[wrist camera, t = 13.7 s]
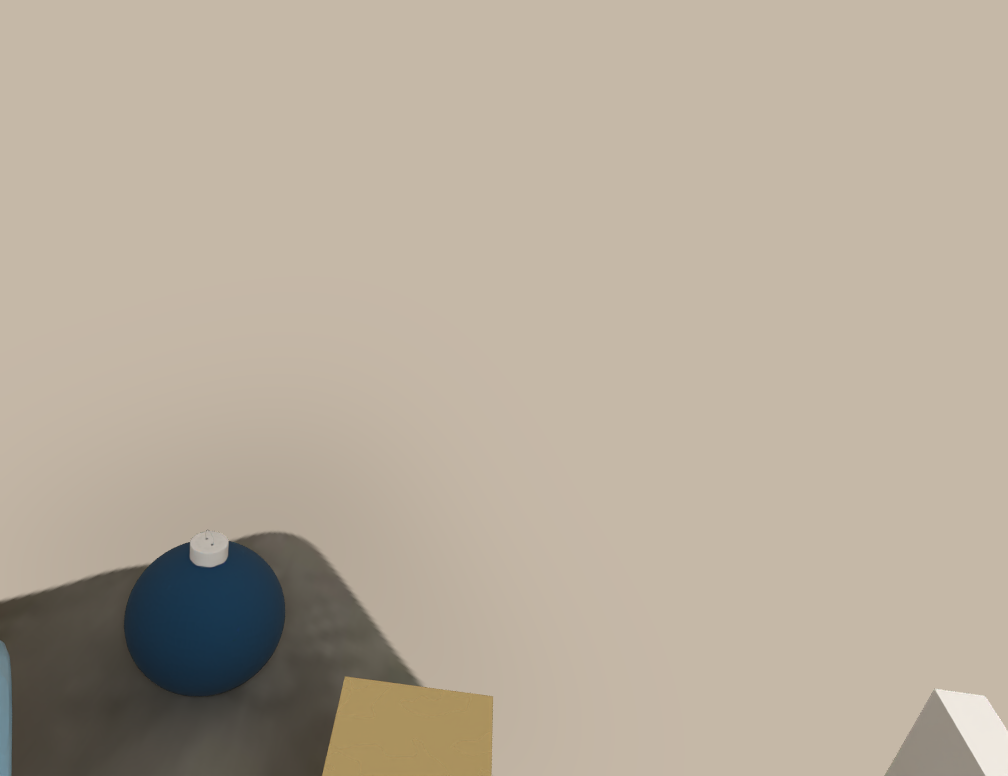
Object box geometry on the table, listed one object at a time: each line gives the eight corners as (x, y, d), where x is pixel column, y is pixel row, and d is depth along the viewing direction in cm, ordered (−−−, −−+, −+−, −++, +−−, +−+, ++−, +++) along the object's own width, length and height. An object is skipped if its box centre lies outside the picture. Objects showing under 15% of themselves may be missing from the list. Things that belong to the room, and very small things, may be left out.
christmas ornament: (308, 685, 49) (322, 547, 45) (168, 757, 44) (169, 606, 39) (235, 603, 54) (242, 471, 50) (100, 657, 49) (94, 514, 44)
